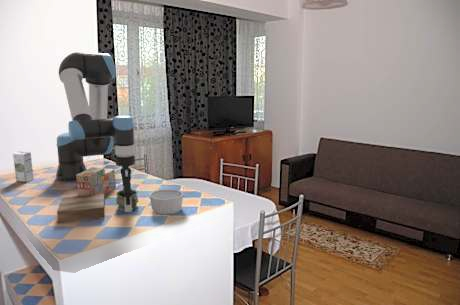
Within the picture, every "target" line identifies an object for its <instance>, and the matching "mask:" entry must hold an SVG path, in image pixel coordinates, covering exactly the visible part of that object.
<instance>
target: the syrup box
mask: <svg viewBox="0 0 460 305" xmlns="http://www.w3.org/2000/svg"><path fill="white" fill-rule="evenodd" d="M12 157H13V165H14V172H15V180H16V182H20V183H21V182H22V183H28V182H30V181H33V180H34V179H35V178H34V170H33V163H32V152H31V151H22V150H21V151H16V152H14V153H12Z"/></svg>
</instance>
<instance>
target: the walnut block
mask: <svg viewBox="0 0 460 305" xmlns="http://www.w3.org/2000/svg"><path fill="white" fill-rule="evenodd" d="M105 203H106V202H105V195H104V194H94V195H83V196H78V195H73V196H63V197H61V199H60V202H59V205H58V208H57V211H56V214H57V215H56V216H57V224H67V223H77V222H86V221H94V220H104V219H105V208H106V207H105V205H106V204H105Z"/></svg>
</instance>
